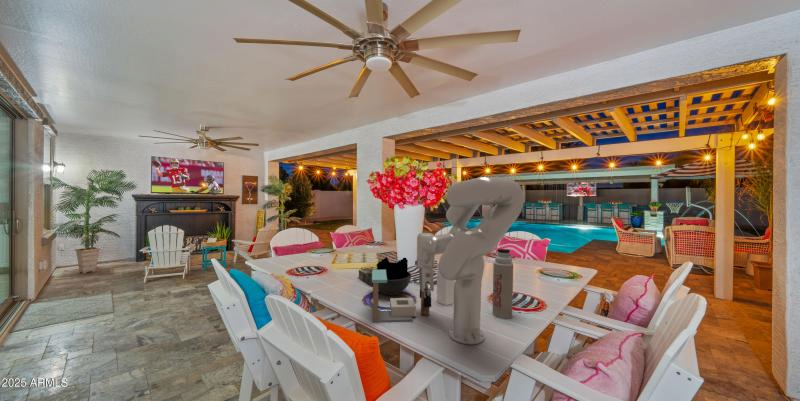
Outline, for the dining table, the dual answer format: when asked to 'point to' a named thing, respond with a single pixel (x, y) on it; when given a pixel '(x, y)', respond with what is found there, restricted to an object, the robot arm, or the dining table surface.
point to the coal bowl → (394, 276)
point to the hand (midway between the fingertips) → (425, 302)
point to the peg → (424, 309)
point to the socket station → (391, 303)
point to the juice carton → (366, 275)
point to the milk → (444, 289)
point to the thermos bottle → (503, 284)
